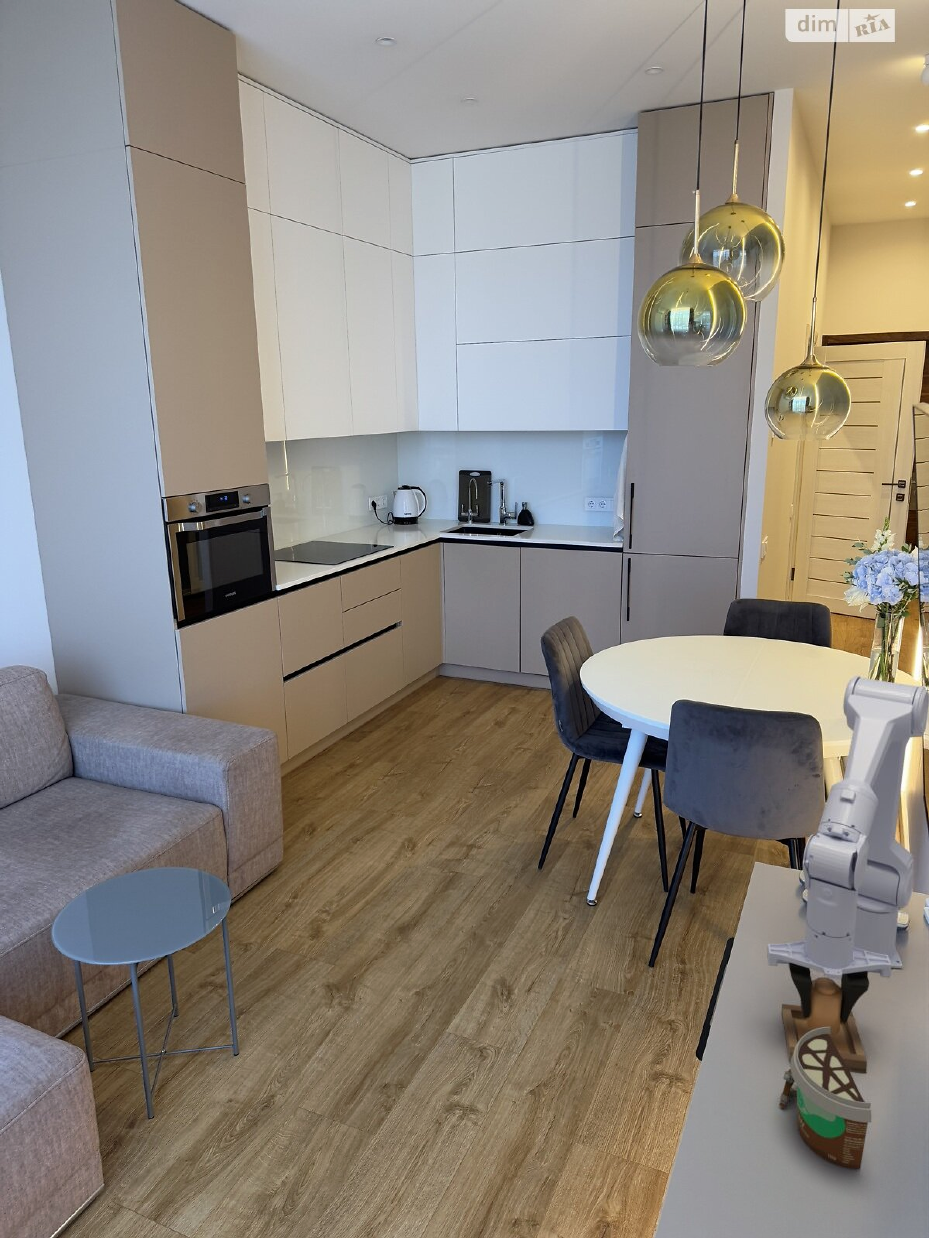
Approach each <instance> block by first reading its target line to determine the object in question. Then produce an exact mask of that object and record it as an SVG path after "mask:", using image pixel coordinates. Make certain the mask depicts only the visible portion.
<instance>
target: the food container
mask: <svg viewBox="0 0 929 1238" xmlns="http://www.w3.org/2000/svg"><path fill="white" fill-rule="evenodd" d="M789 1064H790V1063H789ZM790 1069H791V1073H792V1076H793V1079H794V1081H795V1082H794V1083H795V1084H796V1091H797V1099H796V1101H797V1102H796V1105H797V1130H798V1132H799V1135H800V1137H801V1139H802V1141H803V1142H804V1143H805V1145H806V1146H807V1147H808V1148H809V1150H811V1151H812V1152H813V1153H814V1154H815V1155H817V1156H818V1157H819V1158H821V1159H822V1160H824V1161H826V1162H828V1163H829V1164H833V1165H835V1166H838V1167H841V1168H845V1169H850V1170H861V1167H862V1159H863V1153H864V1150H865V1143H866V1135H867V1129H868V1124H872V1108H871V1106H872V1105H871V1104H872V1103H871V1102H866V1101H865V1099H864V1098H863V1097H862V1095H861V1093H860V1090H859V1089H858V1086H857V1085H856V1083H855V1080H854V1077H853V1075H852V1073H851V1071H849V1069H848V1066H847V1065H846V1063H845V1062H844V1060H843V1059H842V1057H841V1055H840V1054H839V1052H838V1050H837V1048H836V1046H835V1044H834V1043H833V1041H832V1039H831V1037H830V1027H822V1028H817V1029H814V1030H812V1031H810V1032H808V1033H806V1034H805V1035H804V1036H803V1037H802V1038H801V1039H800V1041H799V1042H798V1043H797V1045H796V1047H795V1050H794V1052H793V1055H792V1058H791V1064H790Z"/></svg>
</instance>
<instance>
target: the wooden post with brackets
mask: <svg viewBox="0 0 929 1238" xmlns="http://www.w3.org/2000/svg"><path fill="white" fill-rule="evenodd" d="M783 1080H784V1081H785V1083H784V1087H783V1089H782V1093H781V1094H780V1101H779V1106H780V1107H781V1108H786V1107H787V1104H788V1102H789V1101H791V1102H794V1100H795V1099H796V1100H797V1089H794V1088H793V1085H794V1083H795V1081H794V1079H793V1076H792V1073H791V1068H789V1069H788V1070H785V1071H784V1073H783Z"/></svg>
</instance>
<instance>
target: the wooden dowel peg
mask: <svg viewBox="0 0 929 1238" xmlns="http://www.w3.org/2000/svg"><path fill="white" fill-rule="evenodd" d="M841 1004H842V989H841V986H840V985H839V984H837V983H836V982H835V981H834V980H833V979H832V978H827V977H825V976H824V977H823V976H820V977H817V978H815V979H813V980H812V987H811V993H810V1015H809V1018H807V1025H808V1027H809V1028H810V1029H811V1030H814V1029H817V1028H822V1027H830V1036H833V1035H836V1034H837V1033H838V1032H839V1030H840V1017H841Z"/></svg>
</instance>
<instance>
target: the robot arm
mask: <svg viewBox="0 0 929 1238" xmlns="http://www.w3.org/2000/svg"><path fill="white" fill-rule="evenodd" d="M842 706H843V707H842V708H843V709H842V710H843V713H844V715H845V717H846V725H847V728H849V729H850V730H851V731H852V737H851V740H850V745H849V752H848V756H847V760H846V766H845V771H844V777H843V779H842V780H841V781H837V782H835V783H834V784H833V785H831V786H830V787H831V788H830V789H829V794H828V797H827V799H826V803H825V805H824V809H823V812H822V816H821V819H820V822H819V825H818V827H817V831H816V835H815V834H814V833H813V834H811V835H810V836H809V837H808V839H807V841H806V844H805V848H804V851H803V852H804V853H803V858H802V859H803V860H802V873H803V876H804V888H805V889H804V890H807V902H806V914H805V915H806V917H805V931H804V940H803V941H795V942H786V943H767V949H766V950H767V951H766V957H767V964H768V966H772V967H777V966H778V964H782V965H788V968H789V973H790V978H791V979H792V980H791V981H792V982H793V985H794V987H795V988H796V990H797V992H798V995H799V998H800V1006H801V1009H802V1014H803V1017H805V1018H809V1015H810V993H811V987H812V981H813V980H812V977H811V970H814V971H816V972H819V973H820V972H821V973H823V976H824V977H826V978H829V979H832V980H833V979H835V980H840V988H841V989H842V1004H841V1017H840V1018H841V1022H847V1020H848V1017H849V1015H850V1012H851V1011H852V1010H853V1009H854V1007H855V1004H856V1003H857V1002H858V1000H859V999H860V998H861V997H862V996H863V995H864V994H865V993H866V992H867V991H868V990H869V987H870V980H869V977H868V973H872V974H873V973H874V974H879V975H880V977H883V978H891V973H892V972H891V971H892V969H903V965H904V964H903V962H902V959H901V957H900V955H899V952H898V950H897V948H896V940H897V929H898V918H899V911H900V909H904V908H905V907H907V906H908V905H909V903H910V901H911V897H912V893H913V888H914V881H915V871H914V864H915V860H914V856H913V855H912V853H911V852H910V851H909V850H907V849H906V848H905V847H904V846H903V845H902V844H901V843H900V842H898V840H897V839H896V832H897V825H898V815H899V810H900V809H899V807H900V798H901V792H902V790H901V789H902V781H903V776H904V775H903V773H904V767H905V766H904V765H905V757H906V756H905V755H906V748H907V744H908V743H909V741H910V739H911V738H921V737H923V736H924V733H925V732H926V728H927V720H928V712H929V691H928V690H927V689H926V687H925V686H923V685H919V686H917V685H909V684H902V683H898V682H889V681H885V680H877V679H870V678H865V677H861V676H857V675H854V676H853V677H851V679H849V680H848V683H847V685H846V688H845V692H844V697H843V705H842Z"/></svg>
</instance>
